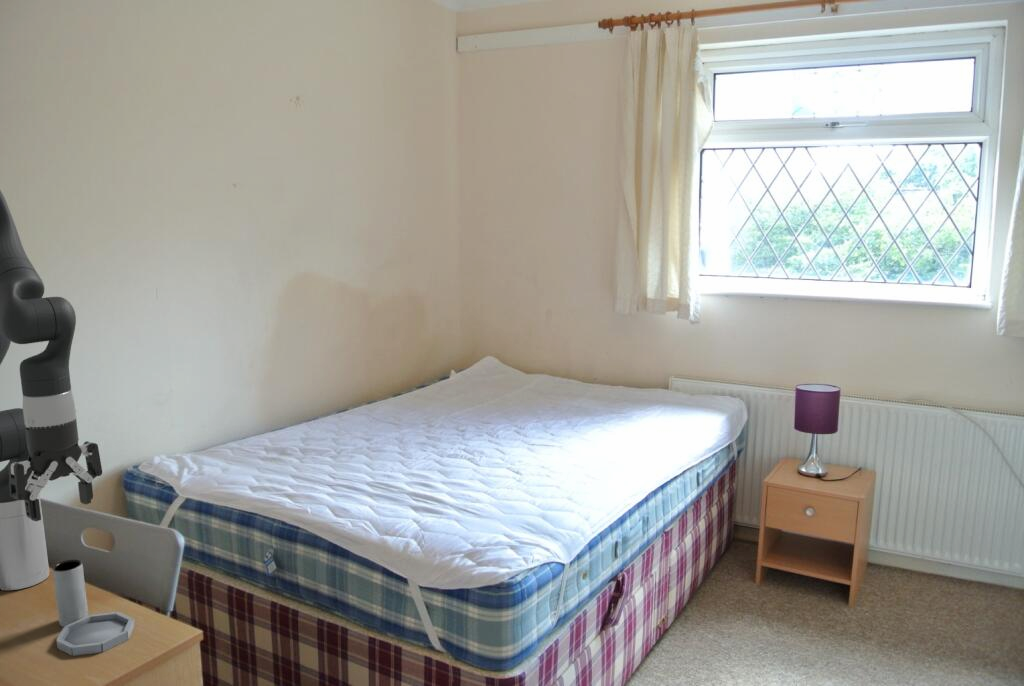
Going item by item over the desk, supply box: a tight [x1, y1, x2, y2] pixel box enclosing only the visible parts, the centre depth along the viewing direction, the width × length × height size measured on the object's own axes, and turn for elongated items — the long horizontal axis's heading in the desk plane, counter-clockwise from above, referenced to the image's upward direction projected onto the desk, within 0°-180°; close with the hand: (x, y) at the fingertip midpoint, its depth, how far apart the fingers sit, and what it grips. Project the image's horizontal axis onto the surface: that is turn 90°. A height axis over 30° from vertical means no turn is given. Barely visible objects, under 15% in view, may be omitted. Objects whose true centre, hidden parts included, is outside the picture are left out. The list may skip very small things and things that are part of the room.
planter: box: [51, 559, 89, 628], centre depth 143 cm, size 4×4×10 cm
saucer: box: [55, 611, 135, 657], centre depth 138 cm, size 11×11×1 cm
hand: (61, 511), depth 140 cm, fingers open, 8 cm apart
